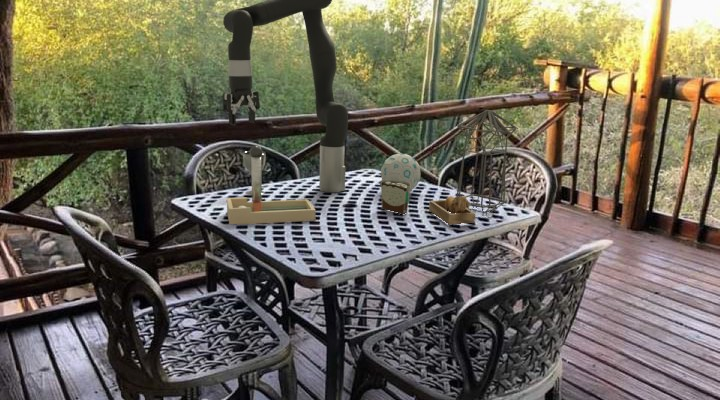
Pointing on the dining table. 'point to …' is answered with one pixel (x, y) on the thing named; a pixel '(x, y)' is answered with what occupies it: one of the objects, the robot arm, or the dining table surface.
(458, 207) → the lion figurine
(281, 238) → the dining table surface
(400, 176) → the puzzle ball
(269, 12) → the robot arm
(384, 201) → the food container
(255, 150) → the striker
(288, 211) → the tray
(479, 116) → the geometric lantern
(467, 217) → the figurine crate
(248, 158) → the wine glass
